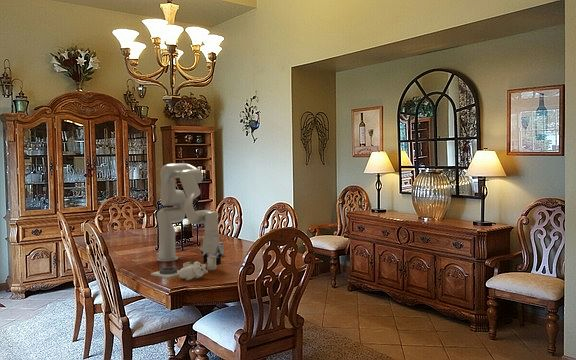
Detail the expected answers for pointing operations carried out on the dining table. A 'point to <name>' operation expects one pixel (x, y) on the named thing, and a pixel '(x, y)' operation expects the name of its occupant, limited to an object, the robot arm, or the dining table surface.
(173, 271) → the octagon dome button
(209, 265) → the cream cap
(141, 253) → the dining table surface
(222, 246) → the medicine box
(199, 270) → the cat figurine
